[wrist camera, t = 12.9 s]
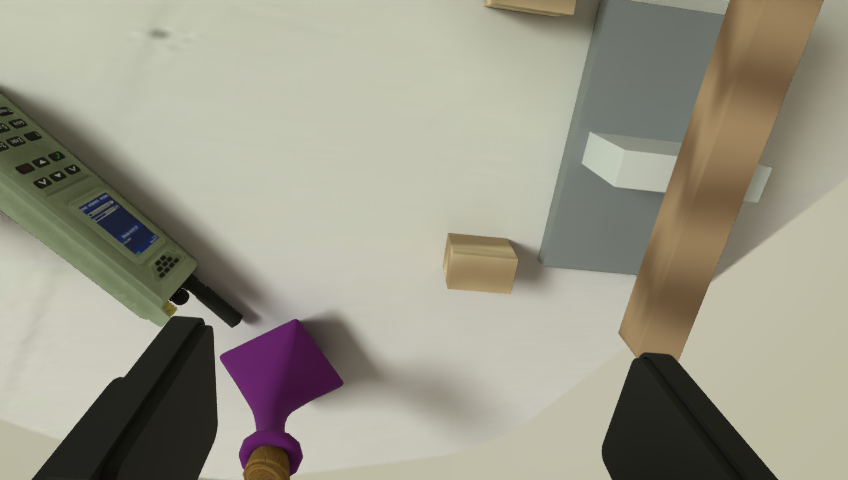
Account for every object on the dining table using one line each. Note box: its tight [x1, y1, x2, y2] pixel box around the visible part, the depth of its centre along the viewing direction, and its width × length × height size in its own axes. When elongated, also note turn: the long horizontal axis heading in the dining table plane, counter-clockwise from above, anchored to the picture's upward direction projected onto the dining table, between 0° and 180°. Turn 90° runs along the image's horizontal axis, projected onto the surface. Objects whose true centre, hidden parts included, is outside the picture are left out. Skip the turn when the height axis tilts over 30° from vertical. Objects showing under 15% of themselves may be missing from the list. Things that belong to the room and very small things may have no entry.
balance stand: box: [538, 0, 772, 275], centre depth 35 cm, size 20×12×8 cm, turn 173°
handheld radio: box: [0, 93, 243, 328], centre depth 35 cm, size 7×3×25 cm
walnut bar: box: [618, 0, 824, 361], centre depth 30 cm, size 24×3×3 cm, turn 173°
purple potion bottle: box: [220, 319, 343, 480], centre depth 35 cm, size 8×8×18 cm
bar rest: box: [443, 0, 577, 294], centre depth 35 cm, size 23×5×4 cm, turn 173°
